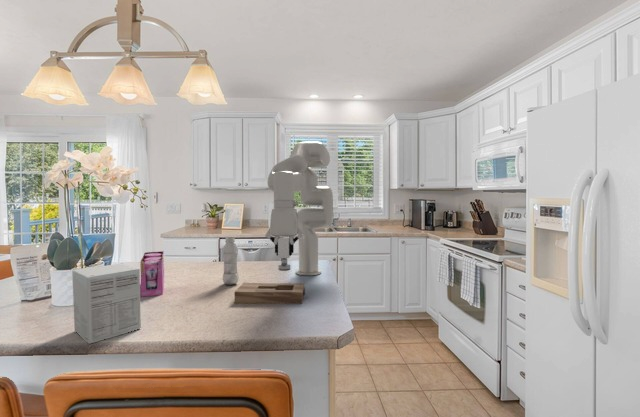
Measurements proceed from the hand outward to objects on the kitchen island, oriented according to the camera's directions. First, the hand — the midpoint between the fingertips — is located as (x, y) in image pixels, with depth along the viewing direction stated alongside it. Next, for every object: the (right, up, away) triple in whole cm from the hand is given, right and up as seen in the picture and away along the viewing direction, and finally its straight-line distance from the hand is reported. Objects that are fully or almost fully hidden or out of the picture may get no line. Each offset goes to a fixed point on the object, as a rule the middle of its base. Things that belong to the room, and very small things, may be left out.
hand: (284, 254), depth 124 cm
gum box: (-55, -16, +14) cm, 59 cm away
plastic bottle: (-25, -16, +21) cm, 36 cm away
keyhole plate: (-5, -16, +1) cm, 17 cm away
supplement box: (-47, -18, -28) cm, 58 cm away
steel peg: (0, -6, 0) cm, 6 cm away
